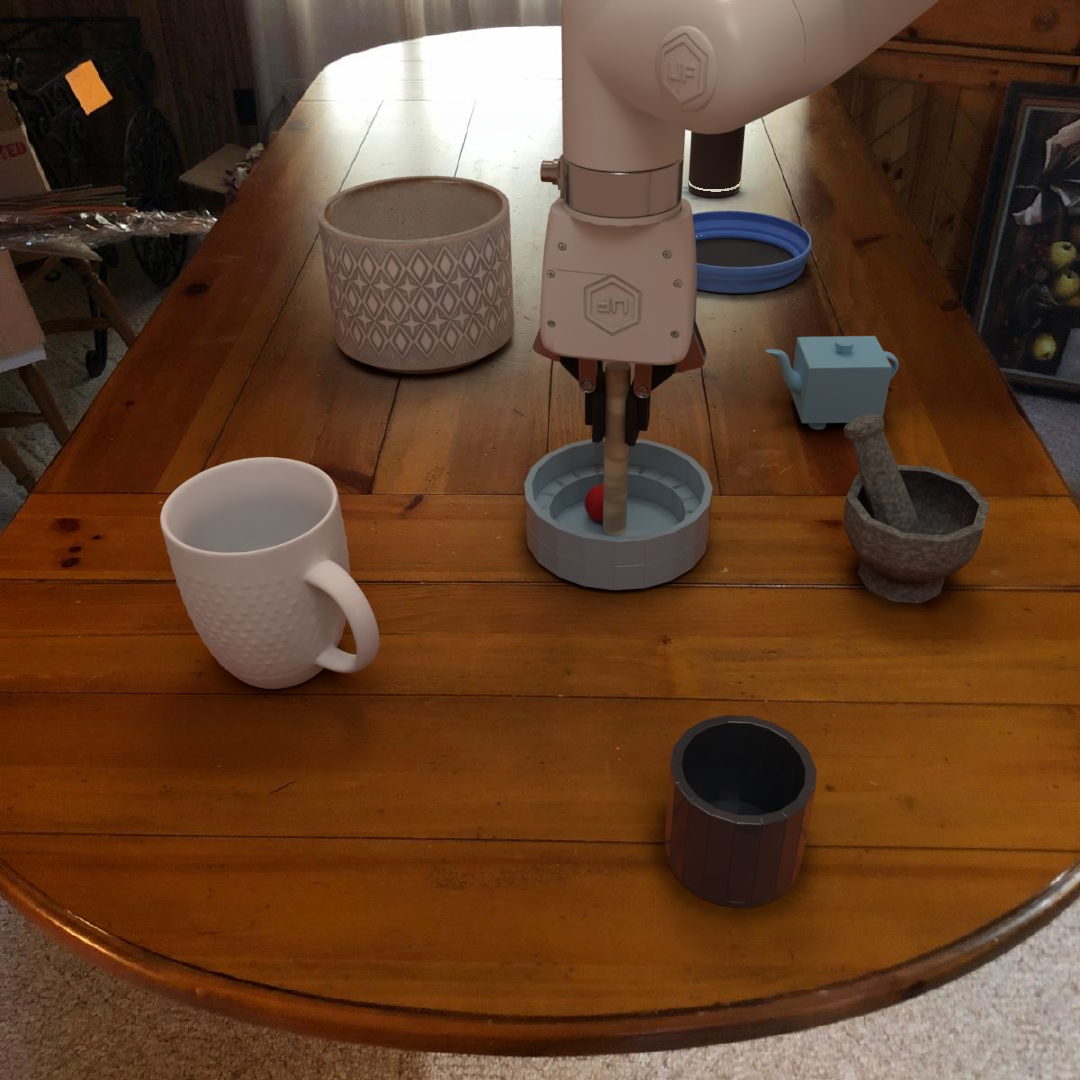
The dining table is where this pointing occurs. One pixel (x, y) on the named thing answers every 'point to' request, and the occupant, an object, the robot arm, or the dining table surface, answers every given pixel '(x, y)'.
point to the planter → (419, 272)
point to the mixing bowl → (652, 516)
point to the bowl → (748, 251)
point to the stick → (615, 448)
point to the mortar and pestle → (907, 519)
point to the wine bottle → (716, 162)
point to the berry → (595, 503)
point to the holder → (738, 810)
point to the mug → (268, 571)
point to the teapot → (837, 378)
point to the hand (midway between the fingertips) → (617, 433)
